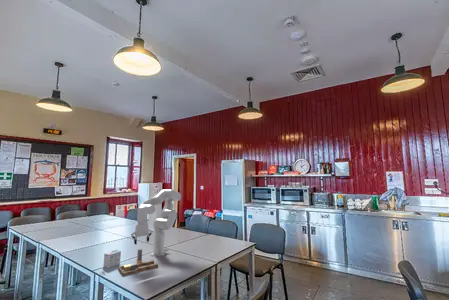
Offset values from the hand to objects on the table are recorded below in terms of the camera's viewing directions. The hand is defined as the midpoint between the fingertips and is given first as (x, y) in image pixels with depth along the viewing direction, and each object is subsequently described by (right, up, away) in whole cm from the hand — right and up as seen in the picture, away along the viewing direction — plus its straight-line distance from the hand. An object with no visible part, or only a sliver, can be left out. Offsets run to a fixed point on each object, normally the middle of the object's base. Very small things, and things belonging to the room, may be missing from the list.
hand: (141, 242), depth 185 cm
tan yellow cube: (-4, -13, -19) cm, 24 cm away
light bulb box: (-21, -15, -8) cm, 27 cm away
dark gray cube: (-1, -13, -17) cm, 21 cm away
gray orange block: (-1, -16, -2) cm, 16 cm away
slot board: (+3, -15, -14) cm, 20 cm away
